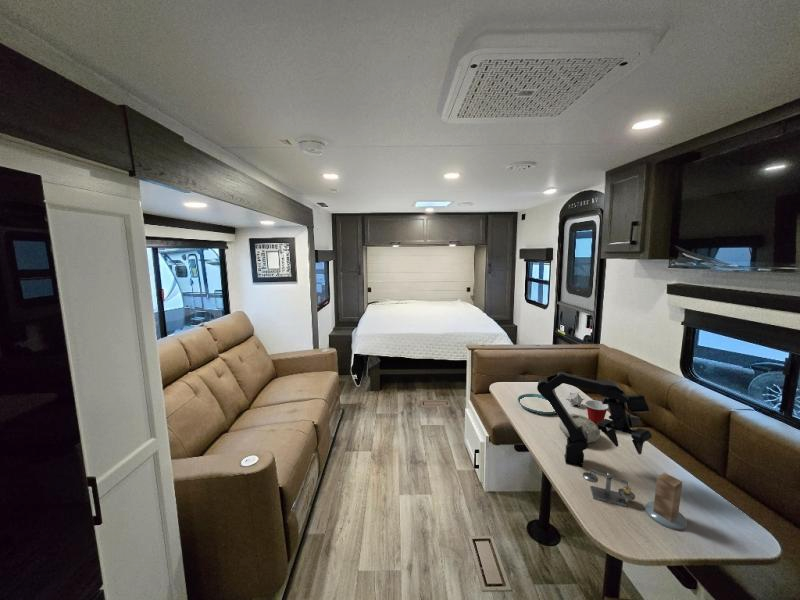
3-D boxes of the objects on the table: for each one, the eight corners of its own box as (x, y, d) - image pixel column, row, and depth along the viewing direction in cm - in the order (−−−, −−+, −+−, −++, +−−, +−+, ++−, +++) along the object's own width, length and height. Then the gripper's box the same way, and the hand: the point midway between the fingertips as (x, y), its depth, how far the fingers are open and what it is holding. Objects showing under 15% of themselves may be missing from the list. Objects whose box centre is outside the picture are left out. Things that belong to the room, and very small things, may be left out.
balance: (582, 496, 117) (584, 471, 116) (580, 485, 123) (582, 461, 122) (636, 509, 111) (639, 483, 110) (631, 497, 116) (634, 472, 115)
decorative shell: (599, 434, 159) (601, 416, 158) (599, 452, 145) (600, 431, 143) (560, 424, 169) (562, 407, 168) (556, 439, 154) (557, 420, 153)
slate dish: (651, 523, 105) (651, 521, 105) (640, 500, 115) (640, 498, 115) (693, 534, 101) (693, 531, 101) (678, 509, 111) (678, 507, 111)
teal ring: (508, 402, 196) (509, 397, 195) (536, 396, 206) (537, 391, 206) (540, 420, 174) (541, 414, 174) (570, 411, 184) (570, 406, 184)
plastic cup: (579, 420, 174) (580, 399, 173) (598, 419, 174) (600, 399, 173) (591, 430, 163) (593, 408, 162) (611, 430, 163) (613, 408, 162)
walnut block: (653, 511, 109) (657, 476, 107) (660, 506, 111) (664, 472, 110) (670, 521, 104) (674, 486, 103) (678, 516, 107) (682, 481, 105)
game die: (574, 410, 194) (580, 395, 196) (582, 411, 185) (589, 396, 188) (561, 402, 195) (567, 388, 197) (569, 403, 186) (575, 388, 189)
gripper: (655, 411, 122) (666, 450, 121) (609, 401, 139) (619, 435, 139) (637, 421, 118) (648, 461, 118) (592, 410, 135) (601, 445, 135)
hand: (628, 450), depth 127 cm, fingers open, 9 cm apart
